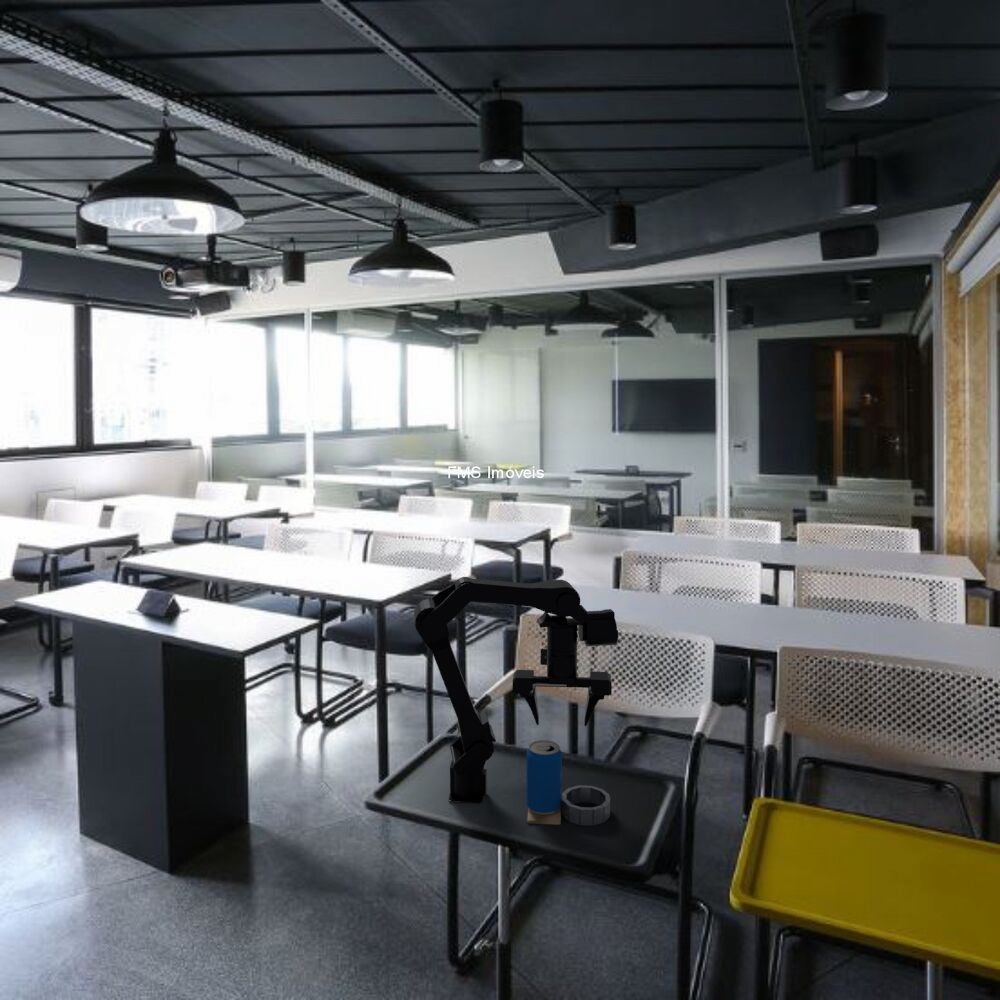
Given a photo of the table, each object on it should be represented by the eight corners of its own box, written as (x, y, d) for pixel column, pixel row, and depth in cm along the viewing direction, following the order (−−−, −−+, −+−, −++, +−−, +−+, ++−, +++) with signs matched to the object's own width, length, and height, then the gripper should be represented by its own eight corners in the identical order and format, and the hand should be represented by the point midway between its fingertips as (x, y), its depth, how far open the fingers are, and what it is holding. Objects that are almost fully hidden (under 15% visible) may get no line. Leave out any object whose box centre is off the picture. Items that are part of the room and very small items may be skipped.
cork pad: (527, 823, 149) (527, 820, 148) (529, 798, 157) (529, 795, 157) (560, 824, 148) (560, 821, 148) (560, 799, 157) (560, 796, 157)
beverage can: (560, 818, 149) (561, 755, 147) (524, 815, 150) (525, 753, 148) (562, 800, 156) (562, 739, 154) (527, 798, 156) (528, 738, 154)
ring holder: (561, 824, 148) (561, 808, 148) (561, 799, 157) (562, 784, 156) (611, 826, 148) (611, 810, 147) (608, 801, 156) (608, 786, 156)
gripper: (609, 634, 164) (607, 709, 167) (515, 633, 166) (515, 706, 168) (612, 653, 153) (611, 732, 156) (512, 651, 155) (512, 730, 157)
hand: (561, 724), depth 160 cm, fingers open, 9 cm apart
